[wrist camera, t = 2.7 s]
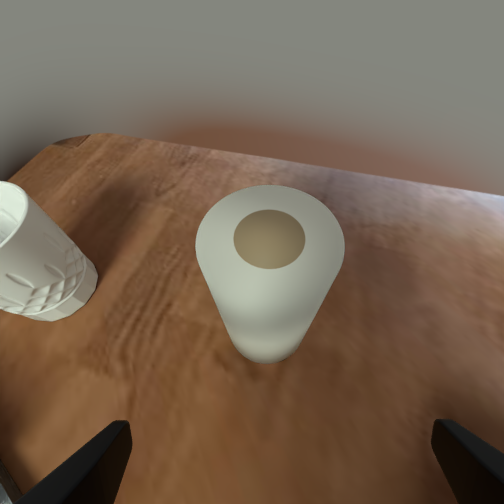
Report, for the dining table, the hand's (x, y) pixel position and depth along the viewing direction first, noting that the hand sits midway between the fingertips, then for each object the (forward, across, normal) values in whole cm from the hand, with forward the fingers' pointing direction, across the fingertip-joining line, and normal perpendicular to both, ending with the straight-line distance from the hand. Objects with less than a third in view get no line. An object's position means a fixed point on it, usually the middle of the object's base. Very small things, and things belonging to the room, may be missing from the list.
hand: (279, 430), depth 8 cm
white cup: (+17, +20, +2) cm, 26 cm away
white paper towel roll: (+14, 0, +4) cm, 15 cm away
